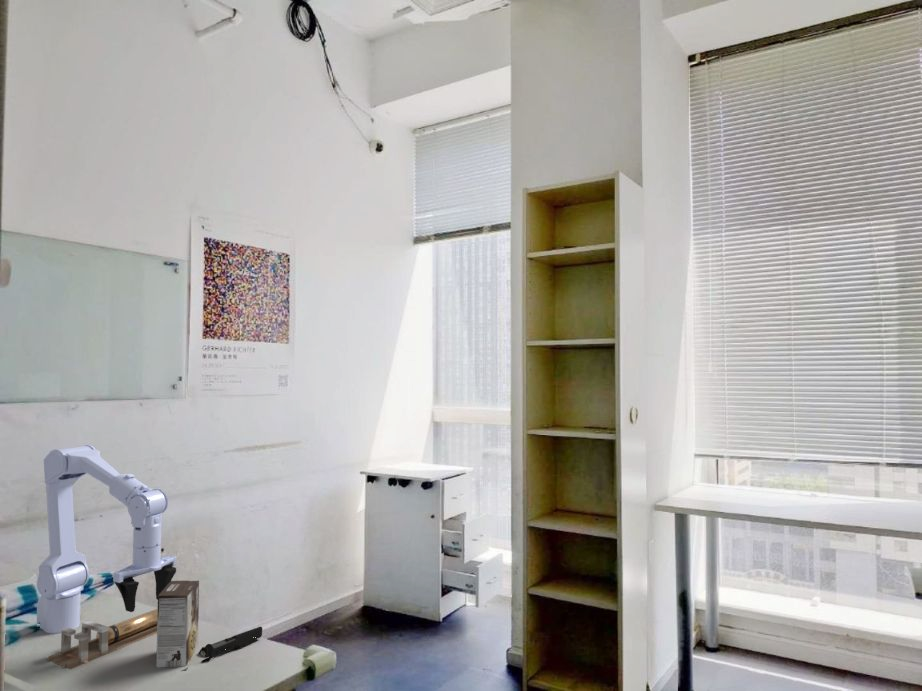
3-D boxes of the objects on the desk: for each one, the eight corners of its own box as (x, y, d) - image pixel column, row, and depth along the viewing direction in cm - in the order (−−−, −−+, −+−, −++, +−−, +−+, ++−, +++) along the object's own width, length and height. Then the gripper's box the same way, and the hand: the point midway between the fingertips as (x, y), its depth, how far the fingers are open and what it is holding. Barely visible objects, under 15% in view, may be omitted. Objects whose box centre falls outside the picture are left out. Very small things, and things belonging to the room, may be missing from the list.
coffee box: (168, 653, 144) (170, 580, 145) (198, 651, 145) (200, 579, 146) (154, 672, 135) (156, 595, 136) (186, 671, 136) (188, 594, 137)
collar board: (45, 664, 139) (46, 633, 139) (155, 620, 162) (155, 594, 162) (70, 674, 134) (71, 642, 134) (179, 627, 158) (180, 601, 158)
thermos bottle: (106, 648, 144) (106, 631, 144) (95, 644, 146) (96, 628, 146) (168, 623, 158) (169, 607, 158) (158, 620, 160) (158, 605, 160)
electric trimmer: (266, 641, 152) (266, 627, 152) (205, 664, 140) (205, 649, 140) (256, 637, 154) (256, 623, 154) (195, 659, 142) (196, 645, 142)
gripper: (128, 555, 138) (126, 619, 138) (186, 539, 151) (184, 598, 151) (108, 550, 142) (106, 613, 142) (166, 535, 155) (164, 592, 154)
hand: (145, 605), depth 146 cm, fingers open, 7 cm apart
